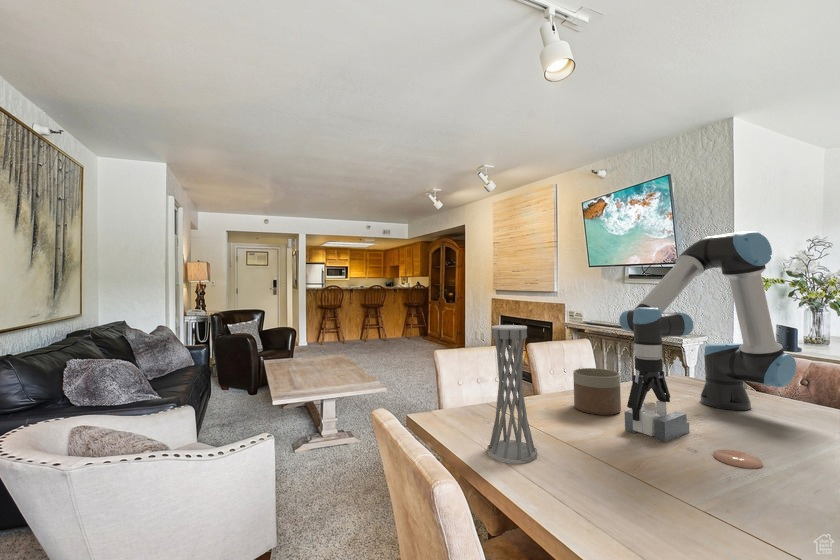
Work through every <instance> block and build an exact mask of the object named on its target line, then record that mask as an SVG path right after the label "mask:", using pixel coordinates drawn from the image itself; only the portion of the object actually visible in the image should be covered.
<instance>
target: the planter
mask: <svg viewBox="0 0 840 560" xmlns="http://www.w3.org/2000/svg"><path fill="white" fill-rule="evenodd" d="M572 371H573V374H572V375H573V405H574V408H575V409H577V410H579V411H580V412H583V413H587V414H590V415H596V416H611V415H616V414H618V413H620V412H621V411H622V401H621V400H622V399H621V374H620V372H617V371H616V370H615V371H614V370H613V369H607V368H606V369H605V368H597V367H595V368H594V367H584V368H577V369H574V370H572Z"/></svg>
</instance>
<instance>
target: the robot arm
mask: <svg viewBox="0 0 840 560" xmlns="http://www.w3.org/2000/svg"><path fill="white" fill-rule="evenodd" d="M772 249H773V248H772V246H771V243H770V241H769V239H768V238H767V237H766V236H765V235H764V234H762V233H761V232H758V231H755V230H754V231H753V230H751V231H750V230H749V231H737V232H730V233H724V234H717V235H710V236H705V237H704V238H701V239H699V240H698V241H696V242H694V243H692V244H691V245H690V246H688V247H687V248H686V249H685V250H683V252H681V253H680V255H679V256H678V257H677V258H676V259H675V264H674V266H673V267H672V268H671V269H669V271H668V272H667V273H666V274H665V275H664V276H663V277H662V278H661V279H660V280H659V281H658V283H657V284H656V285H654V287H653V288H652V289H651V290H650V291H649V292H648V294H647V295H646V296H645V297H644V298H643V299H642V300H641V301H640V303H638V305H636V307H635V308H634V309H629V310H624V311H623V312H622V313H620V316H619V319H618V320H619V325H620V326H621V328H622V329H623V330H624V331H626V332H630V333H631V332H632V333H633V343H634V345H633V348H634V350H633V352H634V356H635V357H634V369H635V370H636V371H638V375H636V374H635V375H634V374H633V375H632V383H631V388H630V391H629V396H628V402H627V405H626V406H627V408H628V409H630V410H631V409H632V413H633V430H634V431H638V432H637V433H640V434H641V433H642V434H644V433H643V410H641V407H642V406H643V405H644V402H645V399H646V396H647V394H648V392H650V391H651V389H652V392H653V394H654V395H655V397H656V399H657V400H655V404H656V414H658V415H659V416H660V417H662V416H664V415H667V414H668V413H667V412H668V410H667V403H670V402H671V395H670V390H669V387H668V384H667V381H666V378H665V371H664V368H663V367H664V366H663V365H664V364H663V363H664V362H663V361H664V360H663V359H662V357H663V338H670V337H671V338H672V337H673V338H675V337H676V338H677V337H678V338H679V337H684V336H685V337H686V336H688V335H690V334H691V333H692V331H693V330H694V321H693V318H691V316H690V315H689V314H687V313H685V312H675V311H674V312H665V310H666V309H667V308H668V307H669V306H670V305H671V304H672V303H673V302H674V301H675V300H676V299H677V297H678V296H679V295H680V294H681V293H682V292H683V291H684V289H686V288H687V286H688V285H689V284H690V283H691V282H692V281H693V280H694V279H695V277H698V276H701V275H703V273H704V272H705V271H707V270H710V269H714V268H715V269H716V268H717V269H718V268H719V269H720V268H721V273H722V275H723V276H725V277H726V278H728V280H729V284H730V289H731V293H732V298H733V302H734V305H735V311H736V316H737V317H736V318H737V320H738V325H739V329H740V330H739V331H740V333H741V339H742V343H738V342H737V343H735V342H734V343H733V342H732V343H730V342H729V343H711V344H706V345H705V346H704V354H703V356H704V357H703V358H704V375H705V376H704V378H705V379H704V381H705V382H704V385H703V388H702V391H701V393H700V403H701V404H703V405H706V406H709V407H713V408H715V409H716V408H717V409H723V410H729V411H748V410H750V409H752V402H751V399H750V397H749V395H748V393H747V390H746V388H745V382H747V383H753V384H757V385H762V386H766V387H774V388H785V387H786V386H788V385H789V384H790V383H791V382H792V381H793V380H794V377H795V376H796V373H797V361H796V359H795V357H794V356H793V355H791V354H789V353H787V352H786V353H785V351H784V347H783V344H781V343H779V342H778V341H776V337H775V332H774V328H773V323H772V319H771V313H770V311H769V310H770V309H769V304H768V301H767V295H766V291H765V287H764V286H765V285H764V281H763V277H762V273H763V272H764V271H766V265H767V264H769V262H770V261H771V259H772V254H773V250H772Z"/></svg>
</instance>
